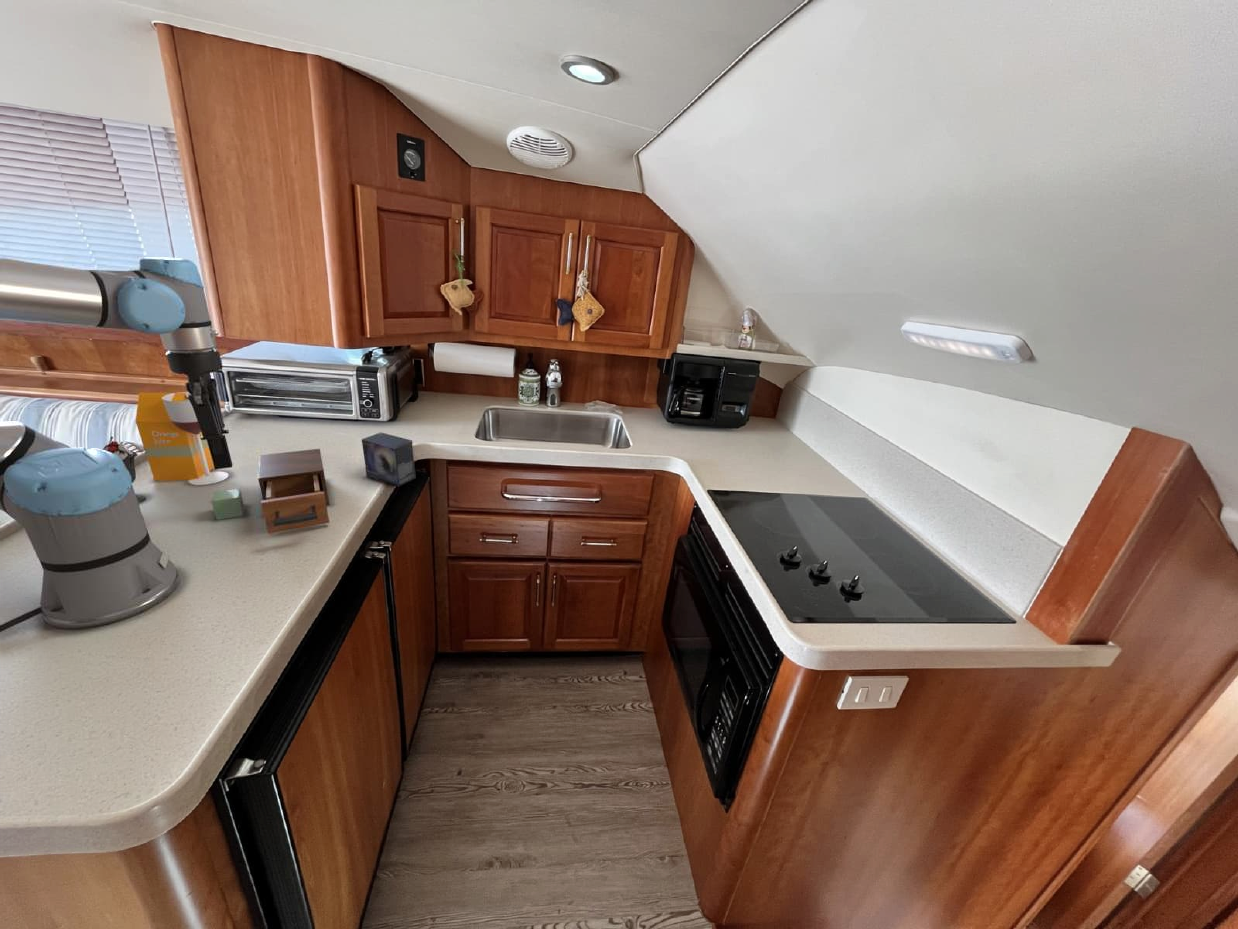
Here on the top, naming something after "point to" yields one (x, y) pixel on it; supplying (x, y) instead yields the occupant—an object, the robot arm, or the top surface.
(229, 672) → the top surface
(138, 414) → the orange juice
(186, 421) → the wineglass
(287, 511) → the drawer
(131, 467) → the sundae
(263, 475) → the cabinet
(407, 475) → the small box
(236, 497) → the block
